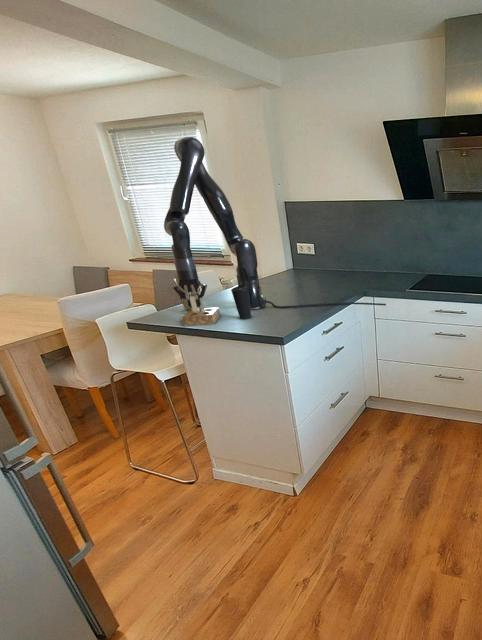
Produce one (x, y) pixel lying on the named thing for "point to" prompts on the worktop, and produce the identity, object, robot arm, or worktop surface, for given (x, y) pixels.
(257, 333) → the worktop surface
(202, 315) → the peg block
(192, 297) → the peg
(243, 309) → the drinking cup
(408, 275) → the worktop surface
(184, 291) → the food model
